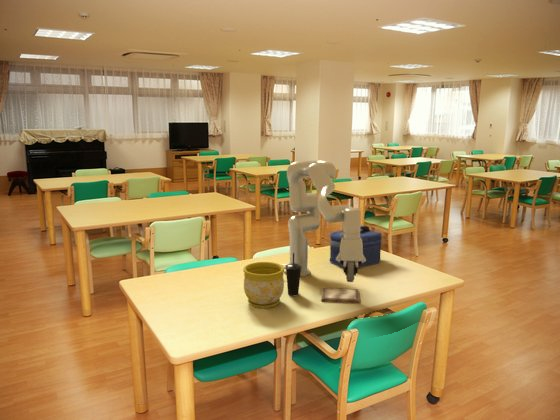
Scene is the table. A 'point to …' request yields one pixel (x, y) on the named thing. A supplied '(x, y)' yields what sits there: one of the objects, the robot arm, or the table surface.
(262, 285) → the flowerpot
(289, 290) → the drinking cup
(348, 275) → the translucent bottle
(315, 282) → the table surface
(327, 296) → the board
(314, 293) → the table surface
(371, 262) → the lunch bag
